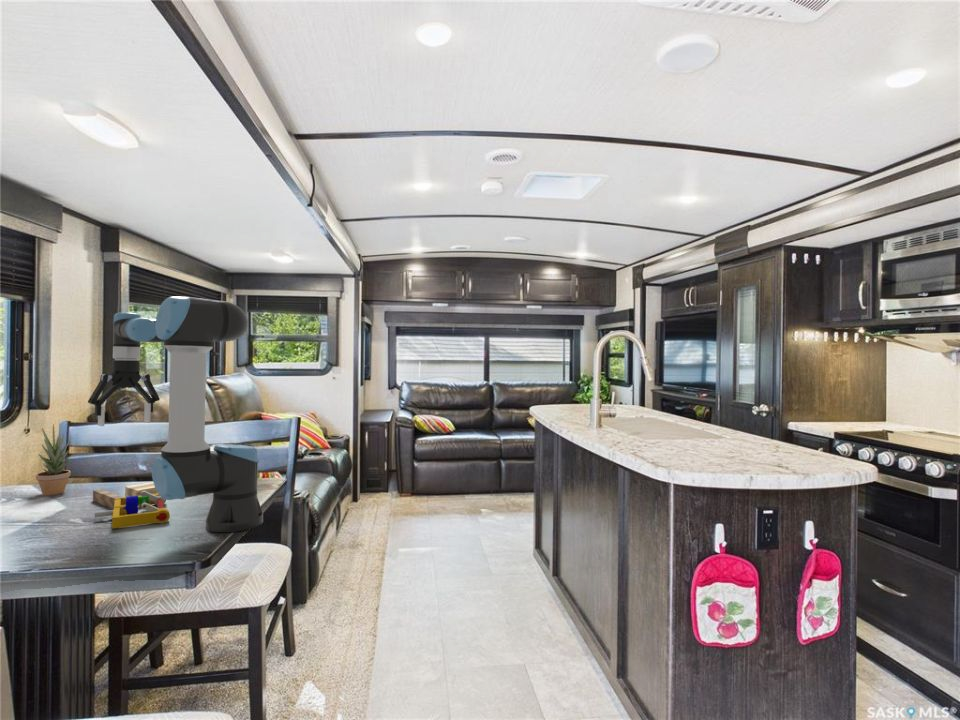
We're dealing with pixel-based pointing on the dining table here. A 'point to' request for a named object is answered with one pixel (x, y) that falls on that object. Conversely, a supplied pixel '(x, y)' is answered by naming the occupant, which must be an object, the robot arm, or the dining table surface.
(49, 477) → the potted plant
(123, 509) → the mechanical clamp
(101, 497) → the board
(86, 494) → the dining table surface
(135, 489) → the block
